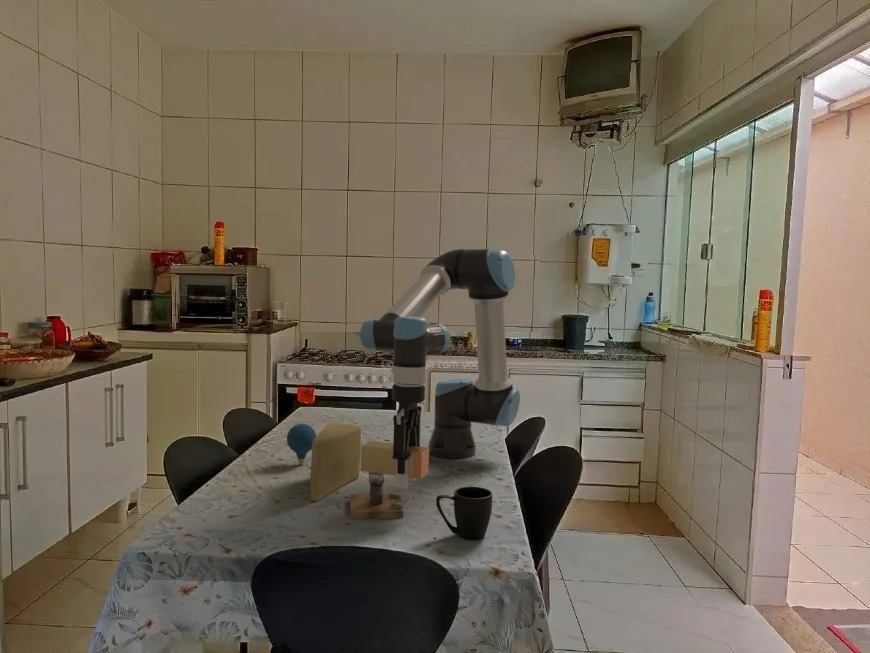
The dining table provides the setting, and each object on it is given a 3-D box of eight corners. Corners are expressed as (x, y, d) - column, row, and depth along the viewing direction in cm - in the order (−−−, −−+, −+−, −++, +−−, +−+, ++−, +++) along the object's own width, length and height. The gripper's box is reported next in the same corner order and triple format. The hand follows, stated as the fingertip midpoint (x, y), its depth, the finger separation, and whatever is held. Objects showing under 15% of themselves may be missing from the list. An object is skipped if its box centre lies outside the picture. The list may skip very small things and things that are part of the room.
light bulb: (309, 470, 184) (310, 428, 184) (281, 467, 186) (282, 426, 185) (320, 462, 193) (321, 422, 192) (293, 459, 194) (294, 419, 193)
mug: (433, 528, 145) (435, 486, 144) (487, 528, 145) (489, 486, 145) (436, 543, 136) (438, 498, 136) (493, 543, 137) (495, 498, 137)
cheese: (332, 504, 158) (333, 443, 157) (294, 500, 160) (295, 440, 159) (360, 477, 179) (362, 423, 178) (327, 474, 181) (328, 421, 180)
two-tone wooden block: (360, 483, 153) (361, 445, 153) (369, 477, 158) (369, 440, 158) (420, 491, 149) (421, 452, 148) (427, 485, 154) (429, 447, 153)
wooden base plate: (399, 500, 162) (399, 476, 162) (403, 517, 150) (403, 492, 150) (350, 500, 161) (350, 476, 160) (350, 518, 149) (350, 492, 148)
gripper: (405, 377, 161) (403, 470, 162) (379, 388, 143) (376, 493, 145) (435, 379, 159) (432, 474, 160) (412, 391, 141) (408, 497, 143)
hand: (405, 482), depth 153 cm, fingers open, 5 cm apart
